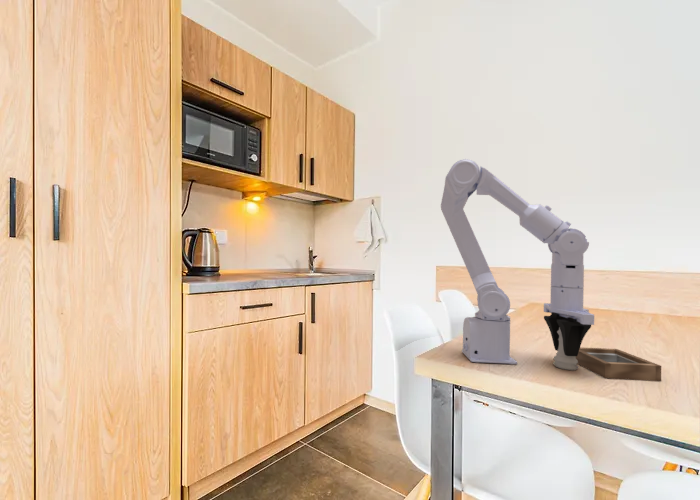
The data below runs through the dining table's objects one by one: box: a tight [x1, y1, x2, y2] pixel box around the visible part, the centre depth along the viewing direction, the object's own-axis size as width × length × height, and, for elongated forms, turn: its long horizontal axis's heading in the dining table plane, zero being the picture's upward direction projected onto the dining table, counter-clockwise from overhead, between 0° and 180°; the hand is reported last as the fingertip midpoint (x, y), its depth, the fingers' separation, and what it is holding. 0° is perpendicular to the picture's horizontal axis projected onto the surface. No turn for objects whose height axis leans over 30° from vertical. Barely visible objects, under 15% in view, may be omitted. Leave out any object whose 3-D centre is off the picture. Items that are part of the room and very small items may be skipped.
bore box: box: [575, 346, 662, 382], centre depth 69 cm, size 10×12×3 cm
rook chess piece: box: [552, 327, 579, 371], centre depth 70 cm, size 4×4×8 cm
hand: (565, 353), depth 70 cm, fingers closed on rook chess piece, 3 cm apart
